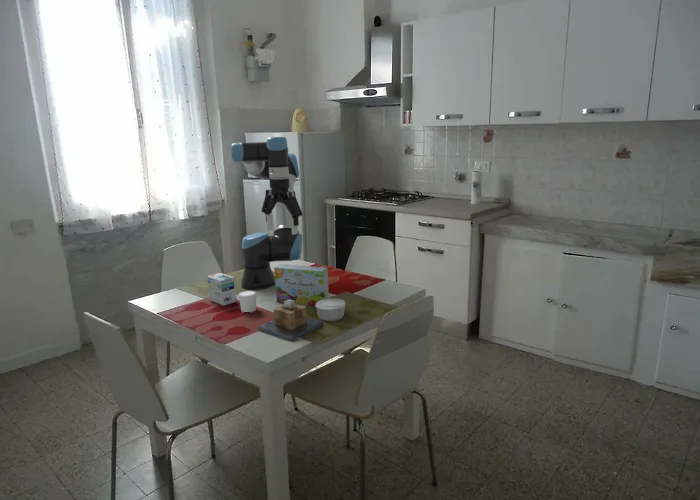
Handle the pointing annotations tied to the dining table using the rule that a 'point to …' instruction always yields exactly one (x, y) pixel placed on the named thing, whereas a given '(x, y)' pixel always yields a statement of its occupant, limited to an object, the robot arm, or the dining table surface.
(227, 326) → the dining table surface
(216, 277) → the light bulb box
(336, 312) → the ramekin
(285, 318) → the walnut collar
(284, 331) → the shaft plate
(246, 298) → the white tapered pot
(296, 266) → the snack box
